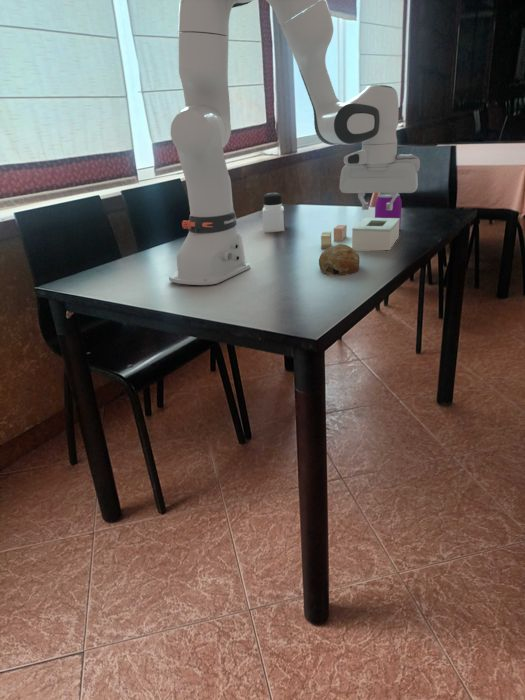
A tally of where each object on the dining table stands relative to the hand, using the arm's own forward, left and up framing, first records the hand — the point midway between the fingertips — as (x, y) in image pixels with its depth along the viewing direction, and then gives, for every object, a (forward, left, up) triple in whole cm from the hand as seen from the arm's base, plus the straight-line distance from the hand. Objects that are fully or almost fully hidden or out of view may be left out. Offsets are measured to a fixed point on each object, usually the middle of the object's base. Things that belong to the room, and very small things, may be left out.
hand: (377, 209), depth 134 cm
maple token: (-3, +13, -11) cm, 17 cm away
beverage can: (+16, 0, -11) cm, 19 cm away
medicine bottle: (+18, +38, -11) cm, 44 cm away
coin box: (0, 0, -11) cm, 11 cm away
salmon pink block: (+6, +12, -11) cm, 17 cm away
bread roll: (-22, +4, -11) cm, 25 cm away
